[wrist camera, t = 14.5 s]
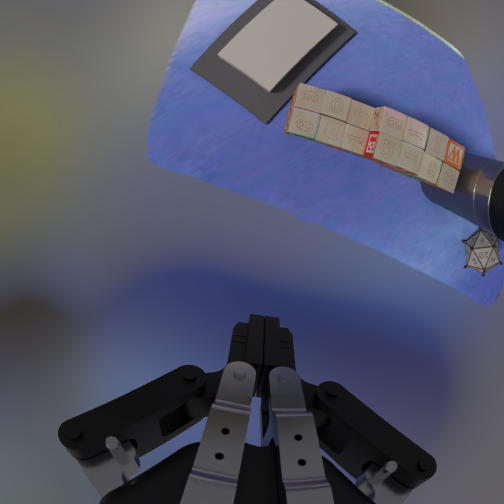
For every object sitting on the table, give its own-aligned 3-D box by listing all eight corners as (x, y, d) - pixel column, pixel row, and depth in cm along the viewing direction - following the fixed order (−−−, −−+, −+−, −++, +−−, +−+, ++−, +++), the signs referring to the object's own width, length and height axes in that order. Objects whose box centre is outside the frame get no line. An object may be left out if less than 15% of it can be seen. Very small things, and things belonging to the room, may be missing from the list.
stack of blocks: (282, 133, 37) (288, 130, 26) (292, 93, 35) (303, 74, 23) (411, 178, 38) (454, 195, 27) (421, 142, 36) (467, 148, 24)
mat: (265, 124, 37) (265, 124, 36) (190, 69, 34) (189, 69, 33) (355, 32, 30) (356, 31, 29) (281, -18, 27) (281, -20, 26)
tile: (269, 91, 32) (338, 24, 27) (217, 54, 30) (287, -11, 26) (269, 93, 34) (334, 28, 29) (219, 58, 32) (286, -5, 28)
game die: (456, 246, 45) (457, 285, 40) (464, 213, 40) (468, 252, 34) (493, 251, 41) (497, 291, 35) (503, 219, 35) (512, 259, 30)
